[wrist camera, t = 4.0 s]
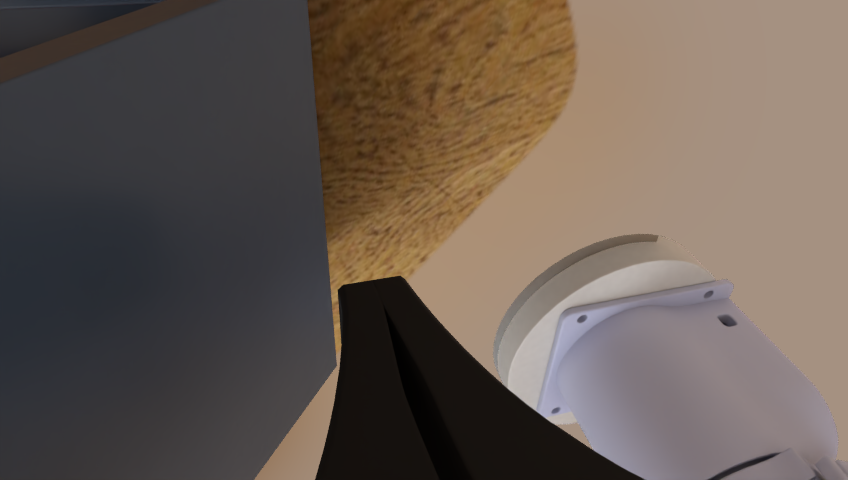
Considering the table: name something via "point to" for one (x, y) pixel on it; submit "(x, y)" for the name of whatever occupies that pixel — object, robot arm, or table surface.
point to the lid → (161, 245)
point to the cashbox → (55, 19)
